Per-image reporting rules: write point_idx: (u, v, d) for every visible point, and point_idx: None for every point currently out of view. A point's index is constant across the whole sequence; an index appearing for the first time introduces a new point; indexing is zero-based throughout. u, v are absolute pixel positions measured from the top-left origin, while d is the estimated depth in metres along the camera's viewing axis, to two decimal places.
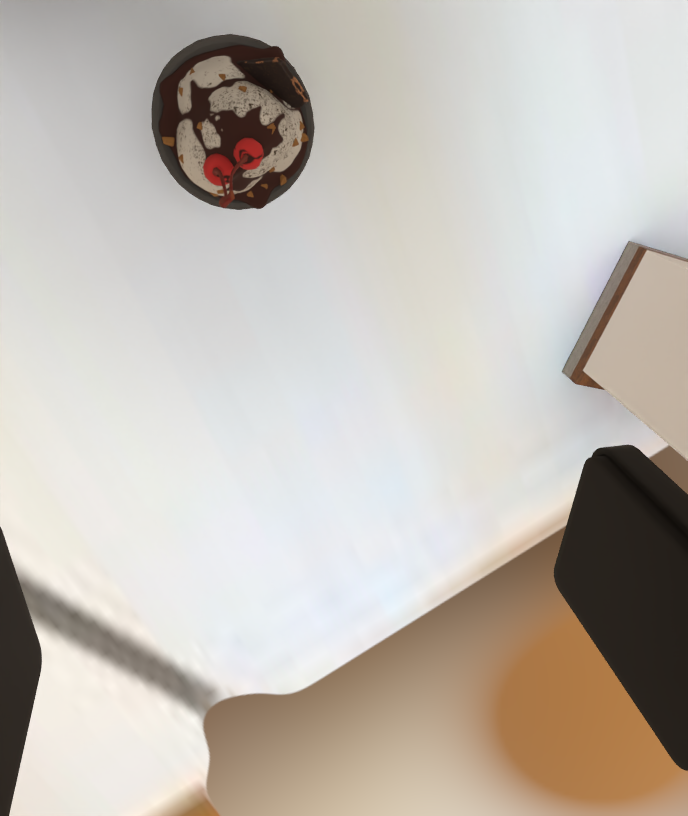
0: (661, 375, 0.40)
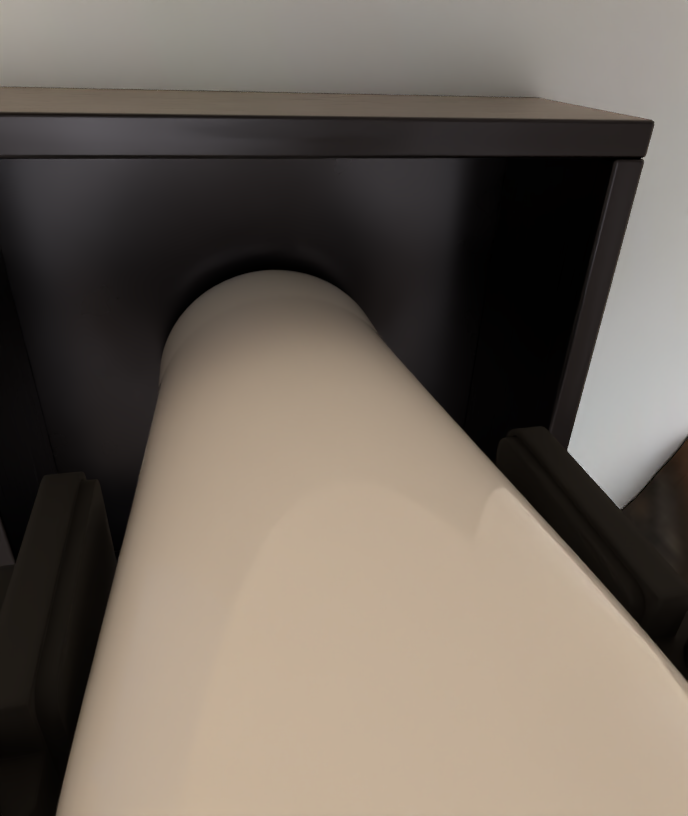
0: None
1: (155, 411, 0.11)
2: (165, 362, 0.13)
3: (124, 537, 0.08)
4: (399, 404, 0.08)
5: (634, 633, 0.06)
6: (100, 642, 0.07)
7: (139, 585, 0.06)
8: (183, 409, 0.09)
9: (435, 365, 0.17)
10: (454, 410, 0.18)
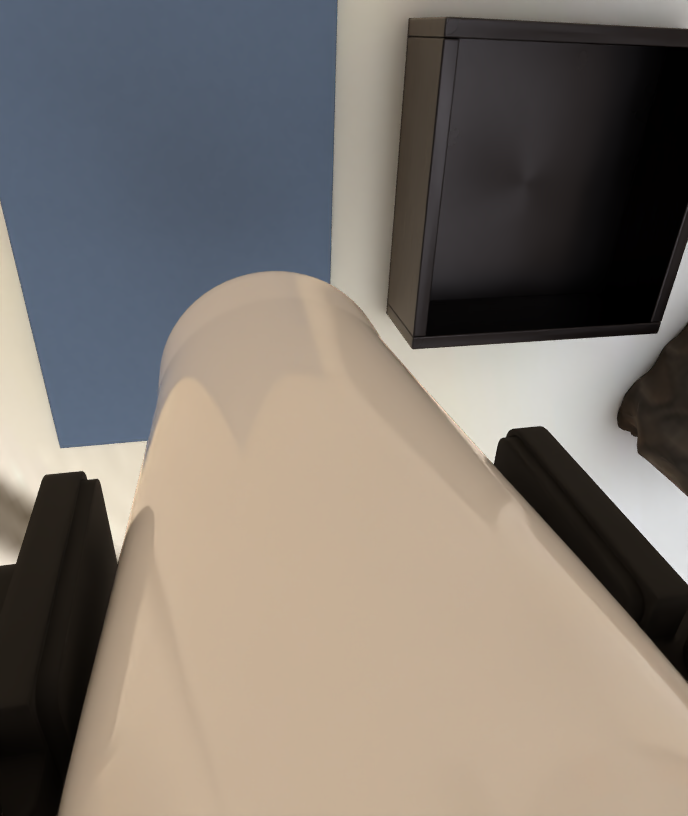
0: None
1: (155, 412, 0.11)
2: (165, 363, 0.13)
3: (124, 539, 0.08)
4: (399, 406, 0.08)
5: (635, 635, 0.06)
6: (101, 644, 0.07)
7: (139, 587, 0.06)
8: (183, 411, 0.09)
9: (608, 189, 0.29)
10: (614, 221, 0.30)
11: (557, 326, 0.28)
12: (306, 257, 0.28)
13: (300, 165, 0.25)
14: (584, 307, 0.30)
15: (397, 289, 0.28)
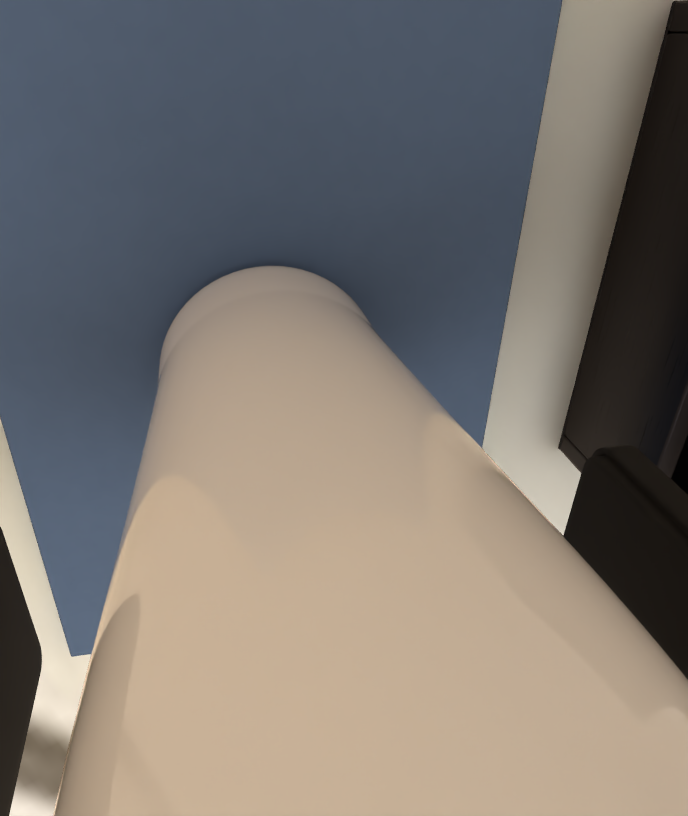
0: None
1: (155, 402, 0.12)
2: (165, 355, 0.13)
3: (126, 520, 0.09)
4: (391, 391, 0.09)
5: (609, 600, 0.06)
6: (104, 616, 0.07)
7: (140, 561, 0.07)
8: (183, 398, 0.10)
9: None
10: None
11: None
12: (458, 380, 0.17)
13: (468, 245, 0.15)
14: None
15: (594, 425, 0.18)
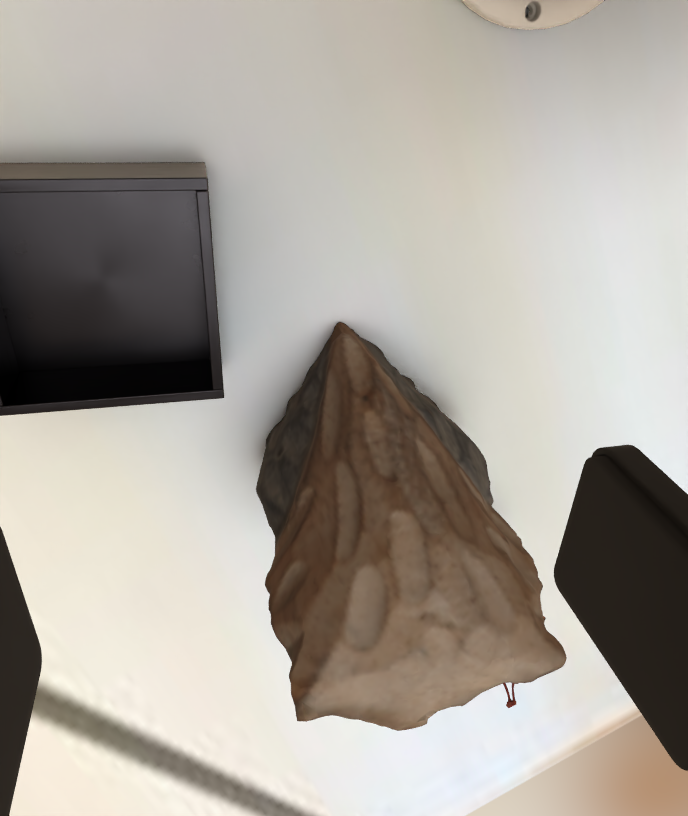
0: None
1: None
2: None
3: None
4: None
5: None
6: None
7: None
8: None
9: (183, 280, 0.36)
10: (199, 304, 0.37)
11: (128, 394, 0.35)
12: None
13: None
14: (174, 375, 0.37)
15: None
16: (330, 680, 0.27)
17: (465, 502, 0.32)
